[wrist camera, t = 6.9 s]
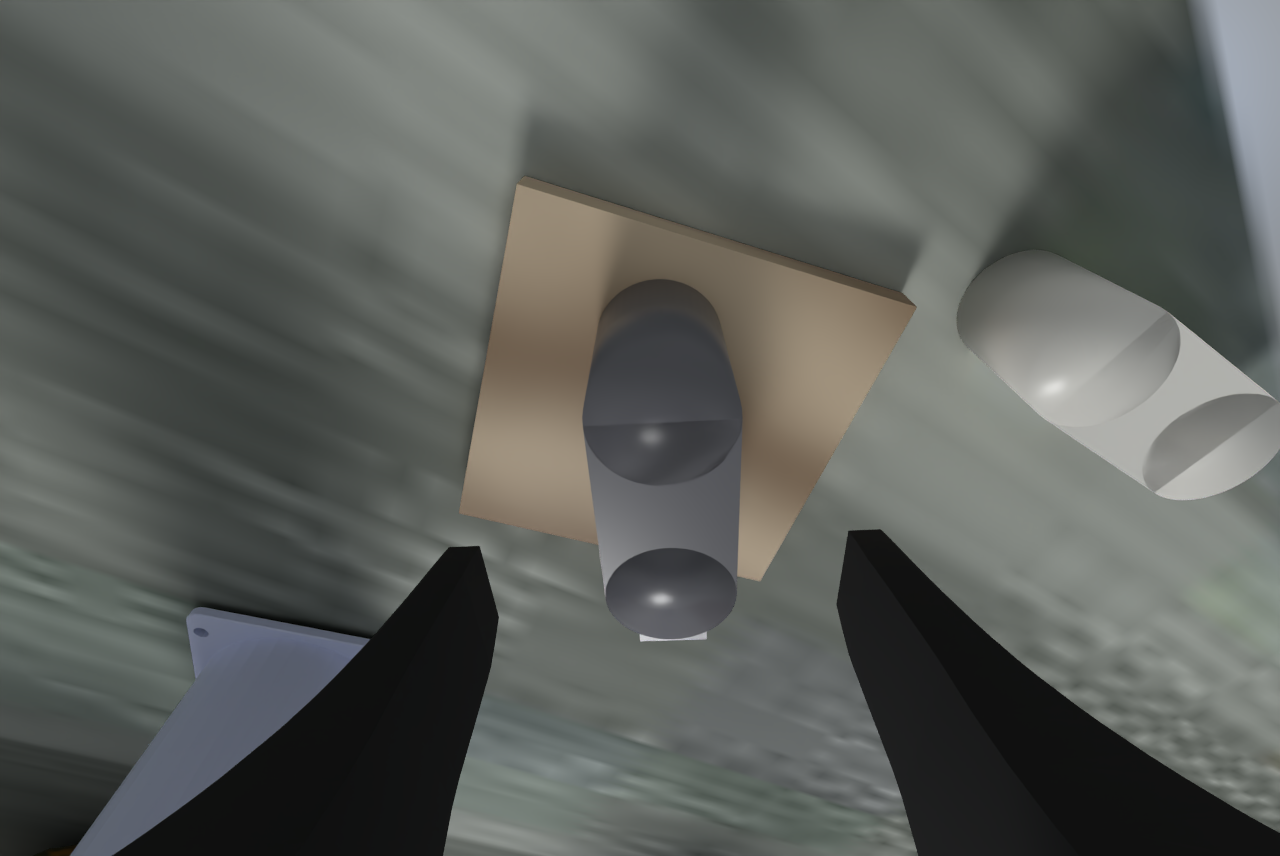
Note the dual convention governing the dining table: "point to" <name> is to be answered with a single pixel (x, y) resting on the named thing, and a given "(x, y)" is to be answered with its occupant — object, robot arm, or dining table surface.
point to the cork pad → (755, 339)
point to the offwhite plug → (1119, 375)
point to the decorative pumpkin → (58, 851)
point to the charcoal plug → (664, 461)
